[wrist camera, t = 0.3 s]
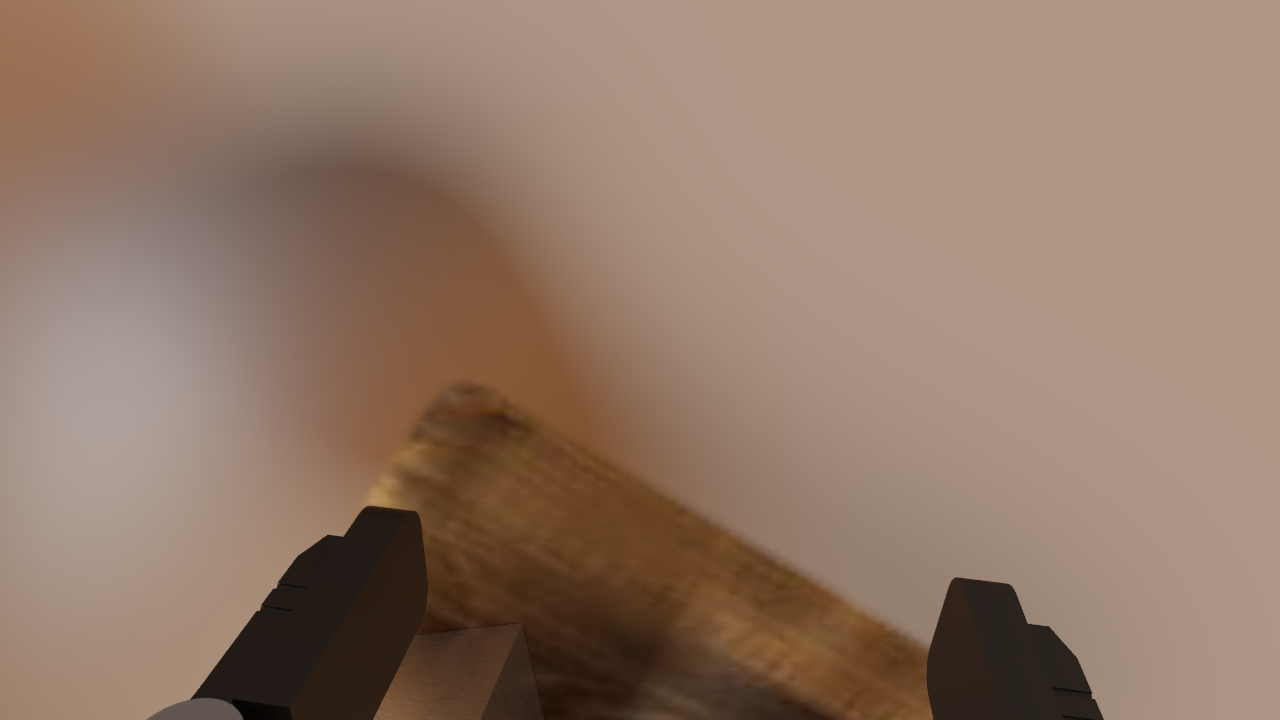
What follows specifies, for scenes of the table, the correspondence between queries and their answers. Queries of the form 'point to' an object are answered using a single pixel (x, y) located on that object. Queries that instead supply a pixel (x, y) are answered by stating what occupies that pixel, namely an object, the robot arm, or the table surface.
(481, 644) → the dispenser
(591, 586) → the table surface
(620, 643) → the table surface
